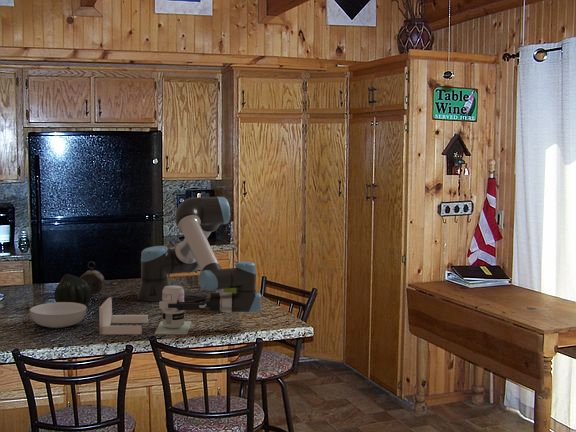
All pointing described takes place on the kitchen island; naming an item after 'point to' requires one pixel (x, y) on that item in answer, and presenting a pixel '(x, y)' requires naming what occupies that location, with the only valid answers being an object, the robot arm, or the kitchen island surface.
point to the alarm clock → (94, 280)
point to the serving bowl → (58, 314)
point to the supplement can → (173, 316)
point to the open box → (118, 321)
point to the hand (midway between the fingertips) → (160, 302)
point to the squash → (72, 290)
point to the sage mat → (173, 329)
